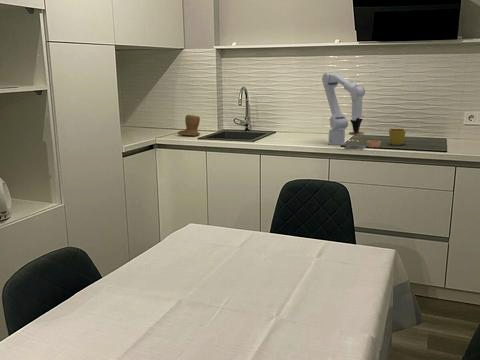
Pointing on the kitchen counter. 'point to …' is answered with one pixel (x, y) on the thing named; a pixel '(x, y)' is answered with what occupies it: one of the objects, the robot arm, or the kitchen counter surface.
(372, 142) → the bowl
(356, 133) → the lid
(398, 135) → the flower pot
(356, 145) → the mat
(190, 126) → the brown hat
